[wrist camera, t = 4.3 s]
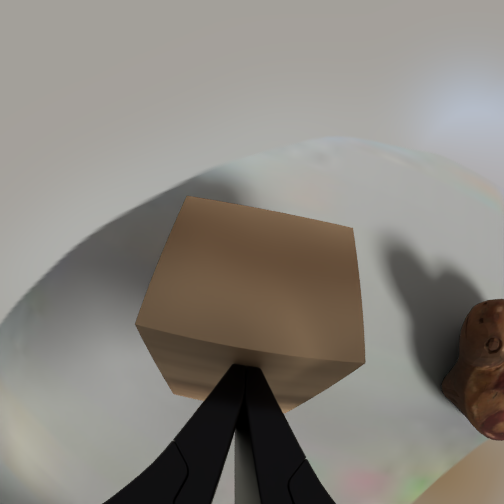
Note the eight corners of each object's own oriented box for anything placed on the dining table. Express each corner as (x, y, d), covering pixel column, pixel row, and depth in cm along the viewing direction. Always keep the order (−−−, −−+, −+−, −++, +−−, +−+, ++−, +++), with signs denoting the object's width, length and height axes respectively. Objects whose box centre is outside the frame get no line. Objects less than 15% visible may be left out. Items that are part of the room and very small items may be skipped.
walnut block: (285, 413, 14) (365, 362, 7) (173, 393, 14) (135, 324, 7) (292, 332, 17) (352, 228, 10) (193, 314, 17) (186, 195, 10)
